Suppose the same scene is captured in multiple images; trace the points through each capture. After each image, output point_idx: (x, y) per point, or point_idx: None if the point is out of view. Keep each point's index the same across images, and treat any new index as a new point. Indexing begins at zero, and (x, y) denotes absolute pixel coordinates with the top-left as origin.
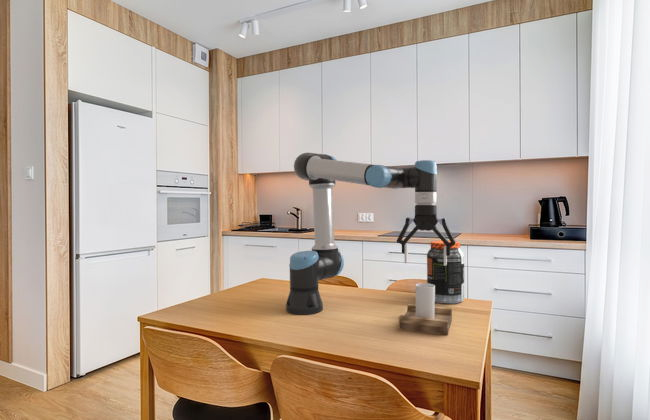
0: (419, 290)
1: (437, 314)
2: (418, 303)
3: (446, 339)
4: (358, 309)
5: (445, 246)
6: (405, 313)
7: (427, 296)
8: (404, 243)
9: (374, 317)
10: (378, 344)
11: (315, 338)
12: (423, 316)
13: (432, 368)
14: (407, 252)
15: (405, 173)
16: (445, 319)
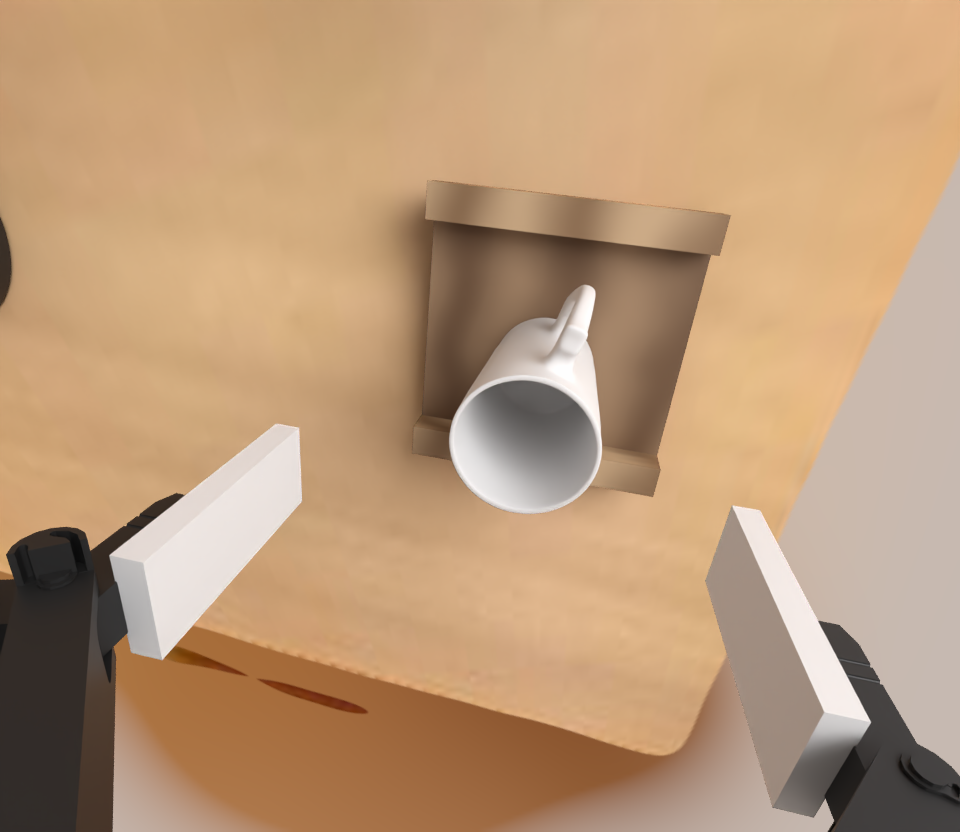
0: (487, 485)
1: (620, 261)
2: (495, 436)
3: (634, 505)
4: (149, 136)
5: (822, 761)
6: (431, 288)
7: (545, 478)
8: (106, 669)
9: (280, 272)
10: (384, 579)
11: None
12: (532, 419)
13: (564, 711)
14: (232, 528)
15: None
16: (658, 350)
